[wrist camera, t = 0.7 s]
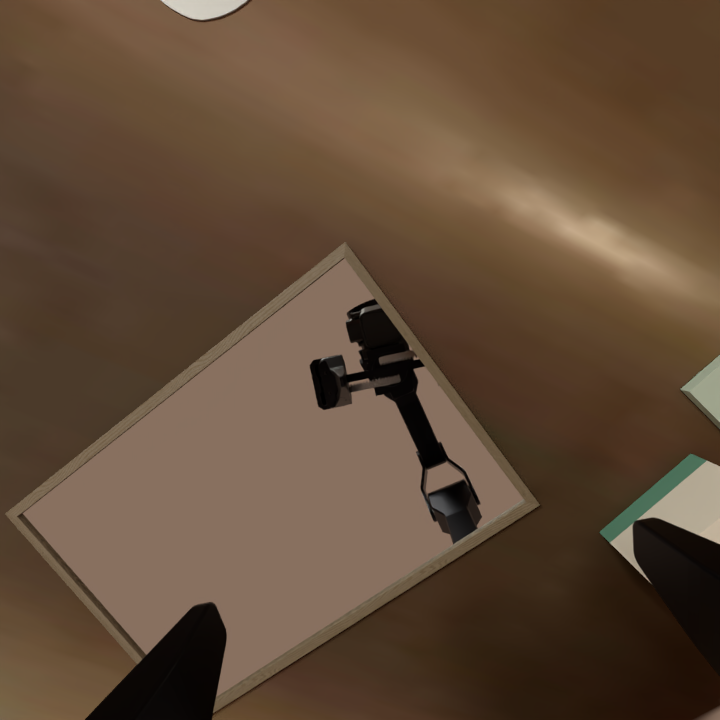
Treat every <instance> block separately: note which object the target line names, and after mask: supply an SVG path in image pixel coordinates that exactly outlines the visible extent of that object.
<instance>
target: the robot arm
mask: <svg viewBox="0 0 720 720" xmlns="http://www.w3.org/2000/svg"><path fill="white" fill-rule="evenodd" d="M632 529H633V552H634V556H635V559H636V561H637V563H638V565H639V567H640V568H641V570H642V571H643V572H644V574H645V575H646V577H647V578H648V580H649V581H650V582H651V584H652V585H653V587H654V588H655V589H656V591H657V592H658V594H659V595H660V597H661V598H662V599H663V601H664V602H665V604H666V605H667V607H668V608H669V609H670V611H671V612H672V614H673V615H674V616H675V618H676V619H677V621H678V622H679V624H680V625H681V626H682V628H683V629H684V631H685V632H686V634H687V635H688V636H689V638H690V639H691V640H692V642H693V643H694V644H695V646H696V647H697V649H698V650H699V651H700V652H701V654H702V655H703V656H704V657H705V659H706V660H707V661H708V662H709V664H710V665H711V666H712V667H713V669H714V670H715V671H716V672H717V673H718V675H719V676H720V544H718V543H716V542H714V541H711V540H709V539H707V538H704V537H702V536H699V535H697V534H695V533H692V532H690V531H688V530H685V529H683V528H681V527H678V526H676V525H673V524H671V523H669V522H666V521H664V520H662V519H659V518H655V517H651V518H646V519H640V520H636V521H634V523H633V526H632ZM226 641H227V632H226V628H225V625H224V623H223V621H222V618H221V616H220V613H219V611H218V609H217V606H216V605H215V604H214V603H213V602H207V603H201V604H197V605H194V606H193V607H192V608H191V609H190V610H189V611H188V612H187V613H186V614H185V615H184V616H183V617H182V618H181V619H180V620H179V621H178V622H177V623H176V624H175V625H174V626H173V627H172V629H171V630H170V631H169V632H168V633H167V634H166V635H165V636H164V637H163V638H162V639H161V640H160V641H159V642H158V643H157V644H156V645H155V646H154V647H153V648H152V650H151V651H150V652H149V653H148V654H147V655H146V656H145V657H144V658H143V659H142V660H141V661H140V662H139V663H138V664H137V665H136V666H135V667H134V668H133V670H132V671H131V672H130V673H129V674H128V675H127V676H126V677H125V678H124V679H123V680H122V681H121V682H120V683H119V684H118V685H117V686H116V687H115V688H114V689H113V691H112V692H111V693H110V694H109V695H108V696H107V697H106V698H105V699H104V700H103V701H102V702H101V703H100V704H99V705H98V706H97V707H96V708H95V709H94V711H93V712H92V713H91V714H90V715H89V716H88V717H87V718H86V719H85V720H212V716H213V711H214V705H215V700H216V695H217V690H218V684H219V679H220V674H221V668H222V663H223V658H224V653H225V647H226Z"/></svg>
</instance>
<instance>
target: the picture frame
mask: <svg viewBox="0 0 720 720" xmlns="http://www.w3.org/2000/svg"><path fill="white" fill-rule="evenodd" d="M539 505H540V504H539V503H538V502H537V500H536V499H535V498H534V496H533V495H532V494H531V492H530V491H529V490H528V488H527V487H526V486H525V484H524V483H523V481H522V480H521V479H520V477H519V476H518V475H517V473H516V472H515V471H514V469H513V468H512V467H511V465H510V464H509V463H508V461H507V460H506V458H505V457H504V456H503V454H502V453H501V452H500V450H499V449H498V448H497V446H496V445H495V444H494V442H493V441H492V440H491V438H490V437H489V436H488V434H487V433H486V431H485V430H484V429H483V427H482V426H481V425H480V423H479V422H478V421H477V419H476V418H475V417H474V415H473V414H472V413H471V411H470V410H469V408H468V407H467V406H466V404H465V403H464V402H463V400H462V399H461V398H460V396H459V395H458V394H457V392H456V391H455V390H454V388H453V387H452V386H451V384H450V383H449V381H448V380H447V379H446V377H445V376H444V375H443V373H442V372H441V371H440V369H439V368H438V367H437V365H436V364H435V363H434V361H433V360H432V358H431V357H430V356H429V354H428V353H427V352H426V350H425V349H424V348H423V346H422V345H421V344H420V342H419V341H418V340H417V338H416V337H415V336H414V334H413V333H412V331H411V330H410V329H409V327H408V326H407V325H406V323H405V322H404V321H403V319H402V318H401V317H400V315H399V314H398V313H397V311H396V310H395V308H394V307H393V306H392V304H391V303H390V302H389V300H388V299H387V298H386V296H385V295H384V294H383V292H382V291H381V290H380V288H379V287H378V286H377V284H376V283H375V281H374V280H373V279H372V277H371V276H370V275H369V273H368V272H367V271H366V269H365V268H364V267H363V265H362V264H361V263H360V261H359V260H358V258H357V257H356V256H355V254H354V253H353V252H352V250H351V249H350V248H349V246H348V245H347V244H346V242H345V243H343V244H342V245H341V246H340V247H338V248H337V249H336V250H335V251H333V252H332V253H331V254H330V255H328V256H327V257H326V258H325V259H323V260H322V261H321V262H320V263H318V264H317V265H316V266H315V267H313V268H312V269H311V270H310V271H308V272H307V273H306V274H305V275H303V276H302V277H301V278H299V279H298V280H297V281H296V282H294V283H293V284H292V285H291V286H289V287H288V288H287V289H286V290H284V291H283V292H282V293H281V294H279V295H278V296H277V297H276V298H274V299H273V300H272V301H271V302H269V303H268V304H267V305H266V306H264V307H263V308H262V309H261V310H259V311H258V312H257V313H256V314H254V315H253V316H252V317H251V318H249V319H248V320H247V321H246V322H244V323H243V324H242V325H241V326H239V327H238V328H237V329H236V330H234V331H233V332H232V333H231V334H229V335H228V336H227V337H226V338H224V339H223V340H222V341H221V342H219V343H218V344H217V345H216V346H214V347H213V348H212V349H211V350H209V351H208V352H207V353H206V354H204V355H203V356H202V357H201V358H199V359H198V360H197V361H196V362H194V363H193V364H192V365H191V366H189V367H188V368H187V369H186V370H184V371H183V372H182V373H181V374H179V375H178V376H177V377H176V378H174V379H173V380H172V381H171V382H169V383H168V384H167V385H166V386H164V387H163V388H162V389H161V390H159V391H158V392H157V393H156V394H154V395H153V396H152V397H151V398H149V399H148V400H147V401H146V402H144V403H143V404H142V405H141V406H139V407H138V408H137V409H136V410H134V411H133V412H132V413H131V414H129V415H128V416H127V417H126V418H124V419H123V420H122V421H121V422H119V423H118V424H117V425H116V426H114V427H113V428H112V429H111V430H109V431H108V432H107V433H106V434H104V435H103V436H102V437H101V438H99V439H98V440H97V441H96V442H94V443H93V444H92V445H91V446H89V447H88V448H87V449H86V450H84V451H83V452H82V453H81V454H79V455H78V456H77V457H76V458H74V459H73V460H72V461H71V462H69V463H68V464H67V465H66V466H64V467H63V468H62V469H61V470H59V471H58V472H57V473H55V474H54V475H53V476H52V477H50V478H49V479H48V480H47V481H45V482H44V483H43V484H42V485H40V486H39V487H38V488H37V489H35V490H34V491H33V492H32V493H30V494H29V495H28V496H27V497H25V498H24V499H23V500H22V501H20V502H19V503H18V504H17V505H15V506H14V507H13V508H12V509H10V510H9V511H8V512H7V513H5V515H6V516H7V517H8V518H9V519H10V520H11V521H12V522H13V524H14V525H15V526H16V527H17V528H18V529H19V530H20V532H21V533H22V534H23V535H24V536H25V537H26V538H27V540H28V541H29V542H30V543H31V544H32V545H33V546H34V547H35V549H36V550H37V551H38V552H39V553H40V554H41V555H42V557H43V558H44V559H45V560H46V561H47V562H48V563H49V565H50V566H51V567H52V568H53V569H54V570H55V571H56V572H57V574H58V575H59V576H60V577H61V578H62V579H63V580H64V582H65V583H66V584H67V585H68V586H69V587H70V588H71V590H72V591H73V592H74V593H75V594H76V595H77V596H78V597H79V599H80V600H81V601H82V602H83V603H84V604H85V605H86V607H87V608H88V609H89V610H90V611H91V612H92V613H93V615H94V616H95V617H96V618H97V619H98V620H99V621H100V622H101V624H102V625H103V626H104V627H105V628H106V629H107V630H108V632H109V633H110V634H111V635H112V636H113V637H114V638H115V639H116V641H117V642H118V643H119V644H120V645H121V646H122V647H123V649H124V650H125V651H126V652H127V653H128V654H129V655H130V657H131V658H132V659H133V660H134V661H135V662H136V663H137V664H138V663H139V662H140V661H141V660H142V659H143V658H144V657H145V656H146V655H147V654H148V653H149V652H150V651H151V650H152V648H153V647H154V646H155V645H156V644H157V643H158V642H159V641H160V640H161V639H162V638H163V637H164V636H165V635H166V634H167V633H168V632H169V631H170V630H171V629H172V627H173V626H174V625H175V624H176V623H177V622H178V621H179V620H180V619H181V618H182V617H183V616H184V615H185V614H186V613H187V612H188V611H189V610H190V609H191V608H192V607H193V606H194V605H197V604H201V603H207V602H213V603H214V604H215V605H216V606H217V609H218V611H219V613H220V616H221V618H222V621H223V623H224V625H225V628H226V632H227V641H226V647H225V653H224V658H223V663H222V668H221V674H220V679H219V684H218V690H217V695H216V700H215V705H214V711H213V713H214V712H216V711H218V710H219V709H221V708H222V707H224V706H225V705H227V704H228V703H230V702H232V701H233V700H235V699H236V698H238V697H239V696H241V695H243V694H244V693H246V692H247V691H249V690H250V689H252V688H254V687H255V686H257V685H258V684H260V683H261V682H263V681H265V680H266V679H268V678H269V677H271V676H272V675H274V674H276V673H277V672H279V671H280V670H282V669H283V668H285V667H287V666H288V665H290V664H291V663H293V662H294V661H296V660H298V659H299V658H301V657H302V656H304V655H305V654H307V653H309V652H310V651H312V650H313V649H315V648H316V647H318V646H320V645H321V644H323V643H324V642H326V641H327V640H329V639H331V638H332V637H334V636H335V635H337V634H338V633H340V632H342V631H343V630H345V629H346V628H348V627H349V626H351V625H353V624H354V623H356V622H357V621H359V620H360V619H362V618H364V617H365V616H367V615H368V614H370V613H371V612H373V611H375V610H376V609H378V608H379V607H381V606H382V605H384V604H386V603H387V602H389V601H390V600H392V599H393V598H395V597H397V596H398V595H400V594H401V593H403V592H404V591H406V590H408V589H409V588H411V587H412V586H414V585H415V584H417V583H419V582H420V581H422V580H423V579H425V578H426V577H428V576H429V575H431V574H433V573H434V572H436V571H437V570H439V569H440V568H442V567H444V566H445V565H447V564H448V563H450V562H451V561H453V560H455V559H456V558H458V557H459V556H461V555H462V554H464V553H466V552H467V551H469V550H470V549H472V548H473V547H475V546H477V545H478V544H480V543H481V542H483V541H484V540H486V539H488V538H489V537H491V536H492V535H494V534H495V533H497V532H499V531H500V530H502V529H503V528H505V527H506V526H508V525H510V524H511V523H513V522H514V521H516V520H517V519H519V518H521V517H522V516H524V515H525V514H527V513H528V512H530V511H532V510H533V509H535V508H536V507H538V506H539Z"/></svg>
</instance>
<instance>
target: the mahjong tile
mask: <svg viewBox="0 0 720 720" xmlns="http://www.w3.org/2000/svg"><path fill="white" fill-rule="evenodd" d="M651 517H655V518H659V519H662V520H664V521H666V522H669V523H671V524H673V525H676V526H678V527H681V528H683V529H685V530H688V531H690V532H692V533H695V534H697V535H699V536H702V537H704V538H707V539H709V540H711V541H714V542H716V543H718V544H720V466H718V465H715V464H713V463H711V462H709V461H706V460H704V459H702V458H700V457H697V456H695V455H693V454H690V455H689V456H688V457H686V458H685V459H684V460H683V461H682V462H681V463H679V464H678V465H677V466H676V467H675V468H674V469H672V470H671V471H670V472H669V473H668V474H667V475H665V476H664V477H663V478H662V479H661V480H660V481H658V482H657V483H656V484H655V485H654V486H653V487H651V488H650V489H649V490H648V491H647V492H646V493H644V494H643V495H642V496H641V497H640V498H639V499H638V500H636V501H635V502H634V503H633V504H632V505H631V506H629V507H628V508H627V509H626V510H625V511H624V512H622V513H621V514H620V515H619V516H618V517H617V518H615V519H614V520H613V521H612V522H611V523H610V524H608V525H607V526H606V527H605V528H604V529H603V530H601V531H600V532H599V533H600V534H601V535H602V536H603V537H604V538H605V539H606V540H607V541H608V542H609V543H610V544H611V545H612V546H613V547H614V548H616V549H617V550H618V551H619V552H620V553H621V554H622V555H623V556H624V557H625V558H626V559H627V560H628V561H629V562H630V563H631V564H632V565H633V566H634V567H635V568H636V569H637V570H638V571H639V572H640V573H641V574H642V575H643V576H644V577H645V578H646V579H647V580H648V578H647V577H646V575H645V574H644V572H643V571H642V570H641V568H640V567H639V565H638V563H637V561H636V559H635V556H634V552H633V529H632V526H633V523H634V521H636V520H640V519H646V518H651ZM648 581H649V580H648ZM649 582H650V581H649ZM650 583H651V582H650Z"/></svg>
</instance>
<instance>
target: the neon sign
mask: <svg viewBox="0 0 720 720" xmlns="http://www.w3.org/2000/svg"><path fill="white" fill-rule="evenodd" d="M161 1H162V2H163V3H164V4H165V5H167V6H168V7H169V8H171V9H172V10H174V11H175V12H177V13H179V14H180V15H182V16H185V17H187V18H189V19H191V20H197V21H208V20H213V19H218V18H221V17H224V16H226V15H228V14H230V13H232V12H235V11H236V10H238V9H239V8H241V7H242V6H243V5H245V4H246V3H247V2H248V1H249V0H161Z"/></svg>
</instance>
